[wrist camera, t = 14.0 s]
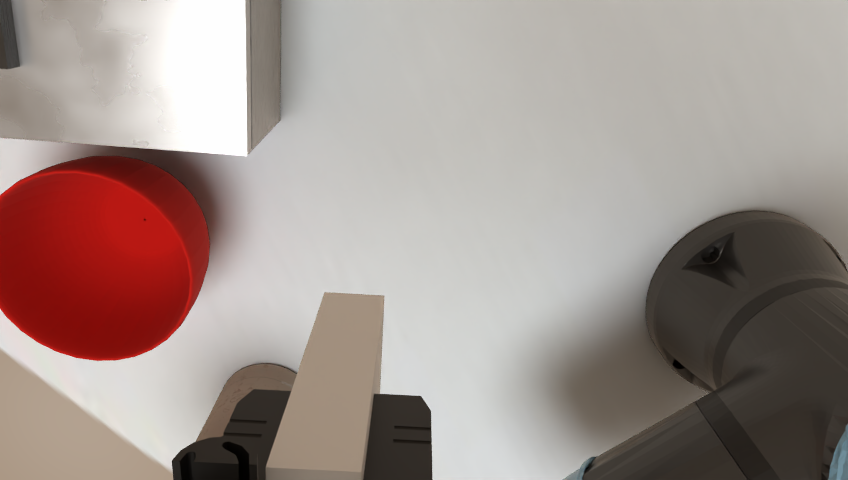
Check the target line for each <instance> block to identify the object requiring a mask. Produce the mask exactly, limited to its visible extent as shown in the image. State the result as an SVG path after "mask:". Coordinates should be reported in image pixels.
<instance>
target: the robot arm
mask: <svg viewBox="0 0 848 480" xmlns="http://www.w3.org/2000/svg"><path fill="white" fill-rule="evenodd" d="M383 314H384V296H381V295H363V294H345V293H327V292H325V293H324V296H323V299H322V302H321V305H320V308H319V311H318V314H317V317H316V320H315V323H314V326H313V329H312V331H311V334H310V337H309V340H308V343H307V346H306V349H305V352H304V355H303V358H302V361H301V364H300V367H299V370H298V373H297V376H296V379H295V382H294V385H293V388H292V391H281V390H262V389H253V390H252V391H251V392H250V393H248V394H247V395H246V396H245V397H244V398H242V399H241V400H240V401H239V402H238V403H237V404H236V407H235V409H234V411H233V413H232V415H231V417H230V421H229V422H228V424H227V426H226V428H225V430H224V433H223V436H222V437H210V438H207V439H204V440H200V441H197V442H194V443H192V444H191V445H189V446H187V447H186V448H184V449H182V450H181V451H180V452H179V453H178V454H177V455H176V457H175V458H174V459H173V460H172V468H173V479H174V480H432V445H431V442H432V440H431V410H430V409H429V407H428V406H427V404H426V403H425V402H424V400H423V399H422V397H421V396H409V395H390V394H380V380H381V358H382V336H383ZM646 321H647V326H648V330H649V333H650V336H651V338H652V340H653V342H654V344H655V346H656V347H657V349H658V350H659V351H660V353H661V354H662V356H663V357H664V359H665V360H666V362H667V363H668V364H669V365H670V366H671V367H672V368H673V370H675V371H676V372H677V373H678V374H679V375H680V376H681V377H683V378H684V379H686V380H687V381H689V382H690V383H692V384H694V385H696V386H698V387H699V388H701V389H703V390H705V391H707V392H708V393H709V394H707V395H706V396H704V397H702V398H701V399H699V400H697V401H695V402H693V403H691V404H690V405H688V406H686V407H685V408H683V409H681V410H679V411H678V412H676V413H674V414H672V415H671V416H669V417H667V418H665V419H664V420H662V421H660V422H658V423H656V424H655V425H653V426H651V427H649V428H648V429H646V430H644V431H642V432H640V433H639V434H637V435H635V436H633V437H632V438H630V439H628V440H626V441H624V442H623V443H621V444H619V445H617V446H616V447H614V448H612V449H610V450H609V451H607V452H605V453H603V454H601V455H600V456H597V457H591V458H589V459H588V460H586V461H585V462H584V463H583V464H582V466H581V468H580V469H578V470H577V471H575V472H574V473H572V474H570V475H569V476H567V477H566V478H564V479H563V480H848V271H847V269H846V266H845V264H844V262H843V261H842V259H841V257H840V255H839V254H838V252H837V251H836V249H835V248H834V247H833V246H832V245H831V244H830V243H829V242H828V241H827V240H826V239H825V238H824V237H823V236H821V235H820V234H819V233H817V232H816V231H814V230H812V229H811V228H809V227H807V226H806V225H804V224H803V223H801V222H799V221H797V220H795V219H793V218H791V217H788V216H785V215H782V214H778V213H773V212H765V211H749V212H741V213H735V214H731V215H727V216H724V217H721V218H718V219H715V220H713V221H711V222H708V223H706V224H704V225H703V226H701V227H699V228H697V229H696V230H694V231H693V232H691V233H690V234H688V235H687V236H686V237H685V238H683V239H682V240H681V241H680V242H679V243H678V244H677V245H675V247H674V248H673V249H672V250H671V251H670V252H669V253H668V254H667V255H666V257H665V258H664V259H663V261H662V262H661V264H660V265H659V267H658V269H657V271H656V272H655V274H654V277H653V279H652V281H651V284H650V287H649V290H648V294H647V300H646Z"/></svg>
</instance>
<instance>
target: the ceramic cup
mask: <svg viewBox="0 0 848 480" xmlns="http://www.w3.org/2000/svg"><path fill="white" fill-rule="evenodd" d="M209 248H210V242H209V235H208V228H207V224H206V221H205V218H204V215H203V213H202V210H201V208H200V207H199V205H198V203H197V202H196V200H195V198H194V197H193V195H192V194H191V193H190V192H189V191H188V190H187V188H186V187H185V186H184V185H183V184H182V183H181V182H179V181H178V180H177V179H176V178H175V177H173V176H172V175H171V174H169V173H167V172H166V171H164V170H162V169H160V168H159V167H157V166H155V165H152V164H149V163H147V162H144V161H141V160H138V159H132V158H127V157H121V156H92V157H86V158H82V159H77V160H72V161H68V162H64V163H60V164H57V165H54V166H51V167H49V168H46V169H43V170H41V171H39V172H37V173H35V174H32V175H30V176H28V177H26V178H24V179H22V180H20V181H18V182H16V183H15V184H14V185H13V186H11V187H10V188H9V189H7V190H6V191H5V192H4V193H2V194H1V195H0V309H1V310H2V312H3V313H4V314H5V316H6V317H7V318H8V319H9V320H10V321H11V322H12V323H14V324H15V325H16V326H17V327H18V328H19V329H20V330H21V331H22V332H24V333H25V334H27V335H28V336H29V337H31V338H32V339H34V340H35V341H37V342H38V343H40V344H42V345H44V346H46V347H48V348H50V349H52V350H54V351H56V352H59V353H63V354H66V355H69V356H72V357H76V358H82V359H89V360H96V361H102V360H120V359H125V358H131V357H135V356H138V355H140V354H143V353H145V352H148V351H150V350H152V349H154V348H155V347H157V346H158V345H160V344H161V343H163V342H164V341H166V340H167V339H168V338H169V337H170V336H171V335H172V334H173V333H174V332H175V331H176V330H177V329H178V328H179V327H180V326H181V324H182V323H183V321H184V320H185V318H186V316H187V315H188V313H189V311H190V310H191V308H192V306H193V304H194V303H195V301H196V299H197V297H198V294H199V292H200V290H201V287H202V284H203V281H204V277H205V274H206V271H207V267H208V262H209Z"/></svg>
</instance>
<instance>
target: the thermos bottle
mask: <svg viewBox="0 0 848 480" xmlns="http://www.w3.org/2000/svg"><path fill="white" fill-rule="evenodd" d="M296 376H297V374H296V373H294V372H292V371H290V370H289V369H286V368H283V367H281V366H277V365H272V364H258V365H251V366H249V367H246V368H243V369H241V370H240V371H238V372H236V373H235V374H234V375H233V376H232V377H230V378H229V380H228V381H227V383H226V384H225V386H224V388H223V390H222V392H221V393H220V395H219V397H218V399H217V401H216V403H215V405H214V407H213V409H212V411H211V413H210V415H209V417H208V419H207V421H206V423H205V425H204V427H203V429H202V430H201V432H200V434H199V436H198V438H197V440H196V442H197V441H200V440H204V439H207V438H210V437H222V436H223V433H224V430H225V428H226V426H227V424H228V422H229V421H230V417H231V415H232V413H233V411H234V409H235V407H236V404H237V403H238V402H239V401H240V400H241V399H242V398H244V397H245V396H246V395H247V394H248V393H250V392H251V391H252V390H253V389H262V390H281V391H292V388H293V385H294V382H295V379H296Z"/></svg>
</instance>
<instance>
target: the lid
mask: <svg viewBox="0 0 848 480" xmlns="http://www.w3.org/2000/svg"><path fill="white" fill-rule="evenodd" d="M0 138H12V139H25V140H39V141H52V142H66V143H79V144H93V145H106V146H119V147H133V148H146V149H160V150H173V151H187V152H200V153H213V154H227V155H240V156H248V154H249V153H250V152H251V151H252V145H251V45H250V0H0Z"/></svg>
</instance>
